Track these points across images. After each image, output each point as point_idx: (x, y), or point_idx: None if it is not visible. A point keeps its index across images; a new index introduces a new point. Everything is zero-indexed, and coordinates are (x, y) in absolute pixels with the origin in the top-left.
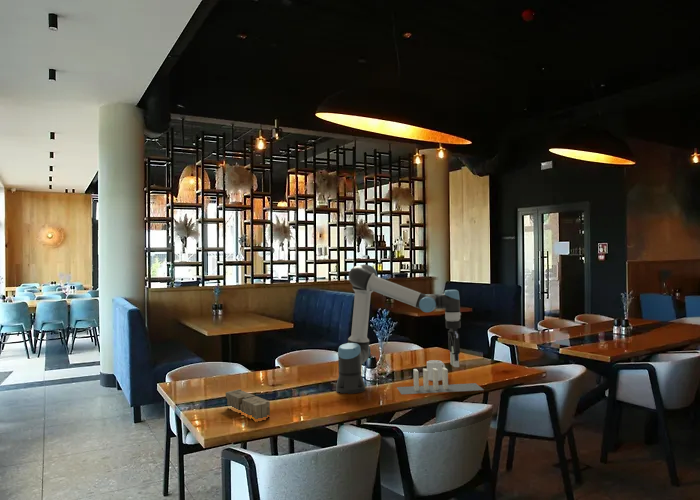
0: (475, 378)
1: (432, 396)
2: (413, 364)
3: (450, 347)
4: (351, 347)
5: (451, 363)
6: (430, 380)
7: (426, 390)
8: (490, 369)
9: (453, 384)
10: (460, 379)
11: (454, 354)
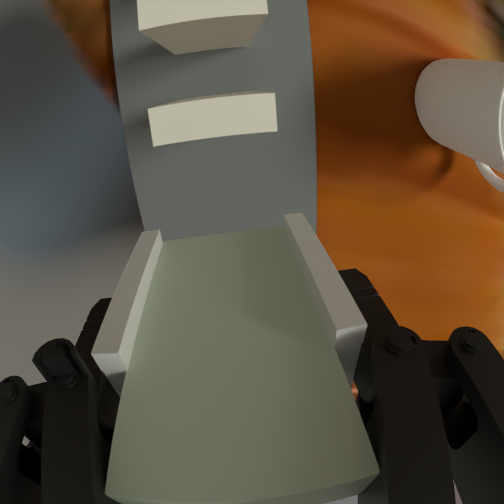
0: (411, 304)
1: (62, 27)
2: None
3: (382, 422)
4: None
5: (286, 228)
6: (428, 65)
7: None
8: None
9: (311, 177)
10: (423, 240)
11: (99, 364)
